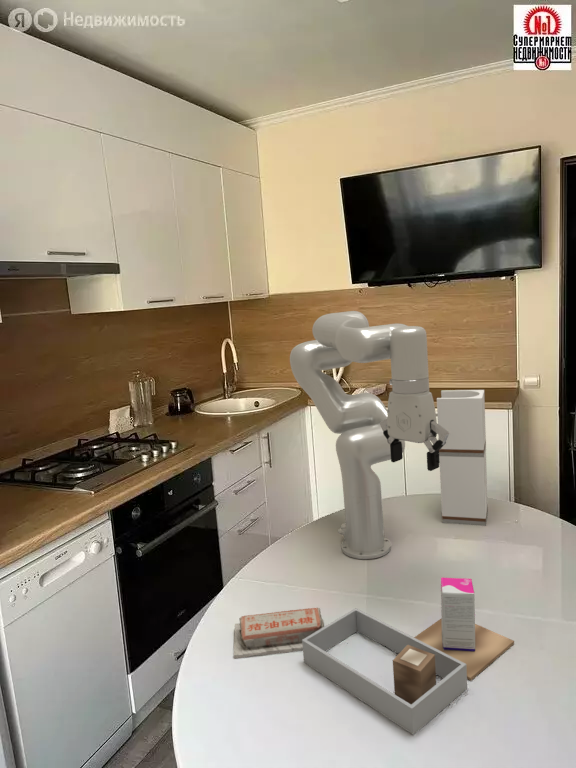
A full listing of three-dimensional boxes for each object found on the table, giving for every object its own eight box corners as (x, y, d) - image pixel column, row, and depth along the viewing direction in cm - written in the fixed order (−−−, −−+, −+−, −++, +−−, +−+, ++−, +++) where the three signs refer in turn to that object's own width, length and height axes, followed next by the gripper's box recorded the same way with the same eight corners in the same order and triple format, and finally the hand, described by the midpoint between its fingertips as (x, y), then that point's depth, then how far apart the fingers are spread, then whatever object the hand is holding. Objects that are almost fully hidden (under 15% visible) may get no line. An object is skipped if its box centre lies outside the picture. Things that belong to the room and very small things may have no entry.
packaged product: (320, 599, 122) (326, 627, 112) (321, 620, 123) (328, 650, 113) (232, 609, 121) (231, 638, 111) (235, 630, 122) (233, 661, 112)
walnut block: (395, 698, 98) (392, 659, 97) (409, 681, 102) (407, 644, 101) (422, 710, 95) (420, 670, 94) (436, 692, 99) (434, 654, 97)
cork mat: (405, 646, 111) (405, 643, 111) (449, 615, 120) (449, 612, 120) (470, 681, 100) (470, 677, 100) (514, 643, 109) (514, 640, 109)
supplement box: (476, 652, 107) (474, 593, 105) (442, 650, 108) (440, 592, 106) (473, 633, 112) (471, 577, 110) (441, 631, 114) (438, 576, 112)
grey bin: (303, 662, 109) (301, 640, 108) (357, 628, 118) (355, 607, 117) (413, 734, 90) (411, 708, 89) (467, 688, 99) (466, 664, 98)
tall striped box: (487, 510, 168) (484, 389, 162) (485, 525, 159) (482, 398, 152) (446, 508, 173) (441, 390, 166) (442, 523, 163) (436, 398, 157)
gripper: (367, 386, 128) (372, 462, 131) (433, 393, 114) (437, 477, 117) (390, 379, 132) (394, 453, 135) (456, 386, 119) (459, 467, 122)
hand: (414, 464), depth 126 cm, fingers open, 9 cm apart
